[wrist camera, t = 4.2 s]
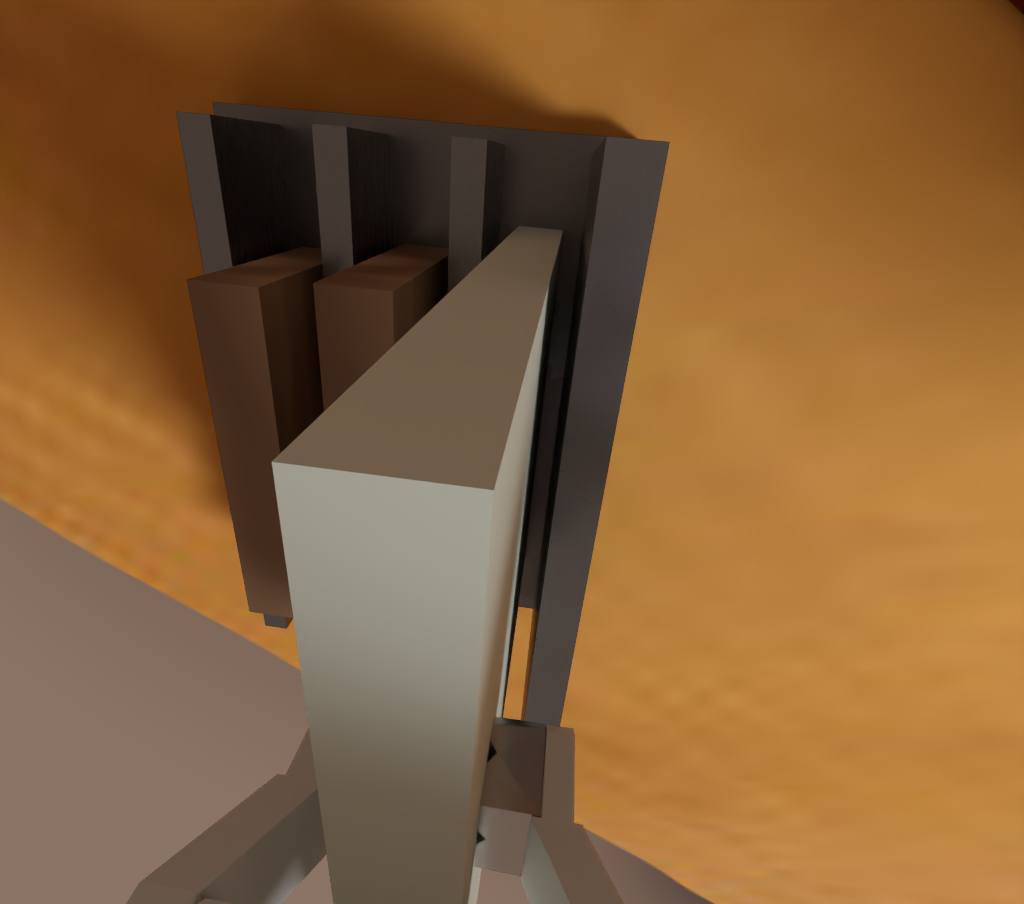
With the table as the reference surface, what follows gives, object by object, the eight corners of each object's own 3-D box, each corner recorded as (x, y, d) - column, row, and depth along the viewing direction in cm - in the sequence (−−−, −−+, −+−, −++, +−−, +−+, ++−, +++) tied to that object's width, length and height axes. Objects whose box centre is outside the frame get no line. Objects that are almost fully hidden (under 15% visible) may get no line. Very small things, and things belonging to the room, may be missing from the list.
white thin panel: (563, 230, 20) (493, 489, 4) (524, 560, 27) (443, 1137, 11) (519, 225, 20) (271, 461, 4) (492, 555, 27) (364, 1121, 11)
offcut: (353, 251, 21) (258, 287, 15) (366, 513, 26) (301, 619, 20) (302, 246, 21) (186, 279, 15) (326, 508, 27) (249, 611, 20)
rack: (642, 142, 19) (722, 109, 8) (566, 593, 29) (557, 850, 18) (236, 106, 20) (-170, 33, 9) (294, 555, 30) (129, 778, 19)
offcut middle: (457, 248, 20) (392, 291, 13) (448, 533, 26) (400, 666, 19) (405, 243, 21) (312, 282, 13) (407, 527, 27) (345, 658, 20)
